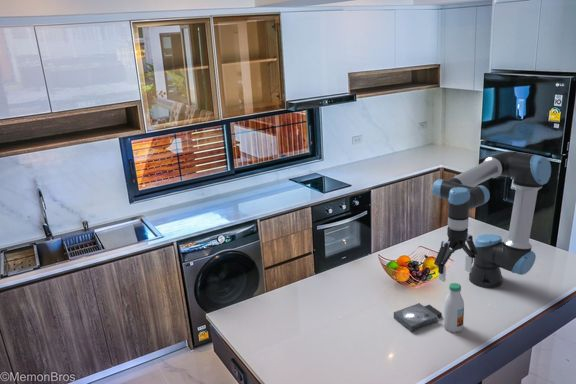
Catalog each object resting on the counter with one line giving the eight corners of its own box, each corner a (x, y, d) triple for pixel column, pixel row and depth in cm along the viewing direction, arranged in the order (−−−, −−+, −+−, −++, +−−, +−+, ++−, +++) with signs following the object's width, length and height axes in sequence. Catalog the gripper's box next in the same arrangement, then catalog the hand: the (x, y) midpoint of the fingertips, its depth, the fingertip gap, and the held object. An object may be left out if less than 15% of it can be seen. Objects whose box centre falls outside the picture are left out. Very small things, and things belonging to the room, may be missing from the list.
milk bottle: (450, 334, 196) (452, 291, 190) (439, 324, 203) (441, 282, 197) (466, 330, 198) (469, 287, 192) (455, 320, 205) (457, 279, 199)
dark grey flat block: (426, 306, 217) (426, 300, 216) (445, 319, 206) (445, 313, 205) (393, 318, 210) (393, 312, 209) (411, 332, 199) (411, 326, 198)
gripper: (474, 217, 194) (471, 264, 201) (425, 231, 184) (424, 279, 191) (489, 223, 187) (485, 271, 194) (439, 237, 178) (437, 288, 185)
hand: (455, 275), depth 193 cm, fingers open, 13 cm apart
